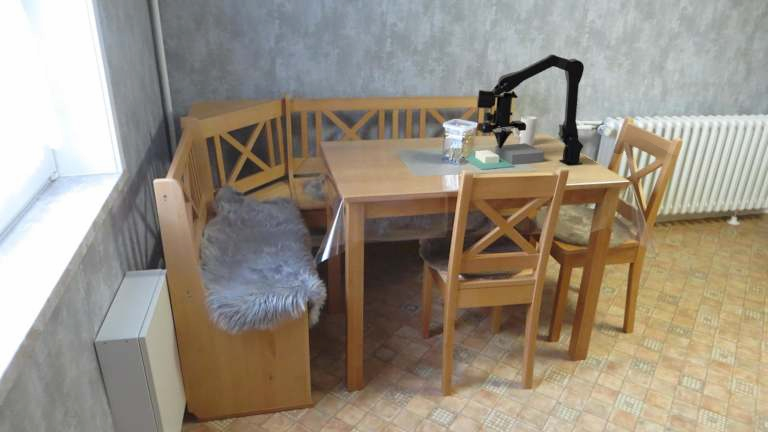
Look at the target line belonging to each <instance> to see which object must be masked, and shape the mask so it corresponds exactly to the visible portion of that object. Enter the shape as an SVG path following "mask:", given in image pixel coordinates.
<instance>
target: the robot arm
mask: <svg viewBox="0 0 768 432" xmlns="http://www.w3.org/2000/svg"><path fill="white" fill-rule="evenodd" d="M552 67H554V68H557V69H560V70H563V71H564V76H565V80H566V96H565V106H564V107H565V110H564V111H565V112H564V121H563V123H562V124H559V125H558V127H559V128H558V129H559V131H558V133H557V134H558V136H559V138H560V140H561V141H562V143H564V148H563V153H562V159H559V160H558V162H561V163H563V164H565V165H567V166H576V165H582V164H583V162H581V161H580V158H581V157H580V156H581V151H582V150H583V148H584V144H582V142H581V141H580V140H579V133H578V132H579V130H578V126H577V112H578V111H577V109H578V99H579V97H578V96H579V85H580V84H581V83H580V82H581V80H582V78H583V74H584V69H585V65H584V63H583V62H582V61H581V60H578V59H577V58H570V59H567V58H565V57H561V56H557V55H556V54H552V53H551V54H549V55H548V56H546V57H544V58H542V59H540V60H538V61H536V62H533V63H532V64H530V65H528V66H526V67H525V68H522V69H521V70H518V71H514V72H509V73H507V74H503V75H501V76H500V77H499V78H498V81H497V84H496V85H495V86H494V87H493V89H492V90H484V89H479V90H478V95H477V98H476V99H477V100H476V108H477V109H492V108H494V107H495V106H496V108H495V110H494V111H493V114H491V112H484V115H483V120H484V122H479V123H478V124H477V129H476V130H477V131H479V132H480V133H483V134H489V133H490V134H491V133H493V135H494V137H495V140H496V144H497V146H498V148H502V146H503V145H505V143H506V141H507V139H508V138H509V137H510V135H511V134H514V131H512V129H514V128H516V130H518V131H519V132H520V131H522V130H526V124H525V123H524V122H522V121H521V120H512V121H511V116H513V112H512V103H513V99H518V95H517V94H516V93H515V89H516V88H517V87H518V86H520V85H521V83H523V82H525V81H526V80H528V79H530V78H532V77H534V76H536V75H539V74H541V73H542V72H544V71H547V70H548V69H550V68H552Z"/></svg>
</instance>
